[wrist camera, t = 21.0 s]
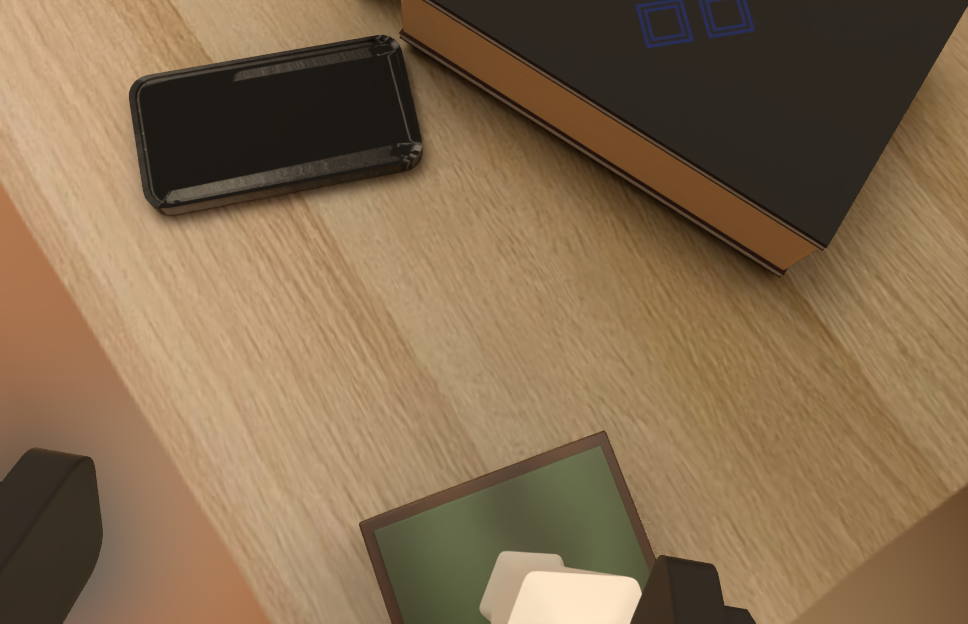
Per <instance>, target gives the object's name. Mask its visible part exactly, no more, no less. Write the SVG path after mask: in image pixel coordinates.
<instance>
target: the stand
mask: <svg viewBox="0 0 968 624" xmlns="http://www.w3.org/2000/svg"><path fill="white" fill-rule="evenodd" d="M359 526H360V529H361V532H362V536H363V539H364V542H365V545H366V548H367V551H368V554H369V557H370V560H371V563H372V566H373V569H374V572H375V575H376V578H377V581H378V584H379V587H380V590H381V593H382V596H383V599H384V602H385V605H386V608H387V611H388V614H389V617H390V620H391V623H392V624H491V622H490V621H489V620H488V619H487V618H485V617H484V616H483V615H482V614H481V612H480V609H479V607H480V603H481V601H482V598H483V595H484V593H485V590H486V587H487V585H488V582H489V580H490V577H491V574H492V572H493V569H494V566H495V564H496V561H497V558H498V556H499V554H500V553H502V552H503V551H513V552H529V553H544V554H556V555H559V556H560V557H561V558H562V560H563V563H564V567H568V568H574V569H581V570H587V571H593V572H600V573H606V574H613V575H619V576H626V577H630V578H633V579H635V580H636V581H637V582H638V584H639V586H640V589H641V593H642V592H643V590H644V588H645V585H646V583H647V580H648V578H649V576H650V573H651V571H652V568H653V566H654V564H655V561H656V558H655V556H654V553H653V551H652V548H651V546H650V543H649V541H648V538H647V535H646V533H645V530H644V528H643V525H642V523H641V520H640V518H639V515H638V513H637V510H636V507H635V505H634V502H633V500H632V497H631V495H630V492H629V490H628V487H627V485H626V482H625V479H624V477H623V474H622V472H621V469H620V467H619V464H618V462H617V459H616V457H615V454H614V451H613V449H612V446H611V444H610V441H609V439H608V436H607V434H606V432H605V431H601V432H599V433H596V434H593V435H590V436H587V437H585V438H582V439H579V440H576V441H574V442H571V443H568V444H565V445H563V446H560V447H557V448H555V449H552V450H549V451H547V452H544V453H542V454H539V455H536V456H534V457H531V458H528V459H526V460H523V461H520V462H518V463H515V464H512V465H510V466H507V467H504V468H502V469H499V470H496V471H494V472H491V473H488V474H486V475H483V476H480V477H478V478H475V479H472V480H470V481H467V482H464V483H462V484H459V485H456V486H454V487H451V488H448V489H446V490H443V491H440V492H438V493H435V494H432V495H430V496H427V497H424V498H422V499H419V500H416V501H414V502H411V503H408V504H406V505H403V506H400V507H398V508H395V509H392V510H390V511H387V512H384V513H382V514H379V515H376V516H374V517H371V518H369V519H367V520H364V521H362V522H360V523H359Z"/></svg>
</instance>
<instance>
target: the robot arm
mask: <svg viewBox="0 0 968 624" xmlns="http://www.w3.org/2000/svg"><path fill="white" fill-rule="evenodd" d="M102 537H103V530H102V520H101V513H100V504H99V496H98V489H97V480H96V471H95V465H94V462H93V460H92V459H91V458H90V457H87V456H82V455H76V454H70V453H64V452H59V451H52V450H47V449H42V448H32V449H30V450H28V451H27V452H26V453H25V454H24V455H23V456H22V457H21V458H20V460H19V461H18V462H17V463H16V465H15V466H14V467H13V468H12V470H11V471H10V472H9V473H8V475H7V476H6V477H5V478H4V480H3V481H2V482H0V624H63V622H64V620H65V619H66V617H67V615H68V613H69V612H70V610H71V608H72V607H73V605H74V603H75V602H76V600H77V598H78V596H79V595H80V593H81V591H82V590H83V588H84V586H85V585H86V583H87V581H88V579H89V578H90V576H91V574H92V572H93V570H94V568H95V565H96V563H97V560H98V557H99V553H100V549H101V544H102ZM630 624H756V623H755V621H754V619H753V618H752V616H751V615H750V613H749V612H748V610H747V609H742V608H736V607H730V606H724V601H723V596H722V591H721V586H720V581H719V576H718V572H717V570H716V568H715V566H714V565H713V564H710V563H704V562H699V561H693V560H687V559H681V558H676V557H670V556H664V555H660V556H659V557H658V558H657V560H656V561H655V564H654V566H653V568H652V571H651V573H650V576H649V578H648V580H647V583H646V585H645V588H644V590H643V592H642V595H641V597H640V600H639V602H638V604H637V607H636V609H635V612H634V614H633V616H632V619H631V622H630Z"/></svg>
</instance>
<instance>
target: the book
mask: <svg viewBox="0 0 968 624" xmlns="http://www.w3.org/2000/svg"><path fill="white" fill-rule="evenodd" d="M967 6H968V0H401V7H402V21H403V29H402V30H401V31H400V32H399V33H400V38H401V39H402V40H404V41H405V42H407V43H409V44H410V45H412V46H413V47H415V48H417V49H418V50H420V51H421V52H423V53H424V54H426V55H428V56H429V57H431V58H432V59H434V60H436V61H437V62H439V63H440V64H442V65H443V66H445V67H447V68H448V69H450V70H451V71H453V72H455V73H456V74H458V75H459V76H461V77H463V78H464V79H466V80H467V81H469V82H470V83H472V84H474V85H475V86H477V87H478V88H480V89H482V90H483V91H485V92H486V93H488V94H489V95H491V96H493V97H494V98H496V99H497V100H499V101H501V102H502V103H504V104H505V105H507V106H508V107H510V108H512V109H513V110H515V111H516V112H518V113H520V114H521V115H523V116H524V117H526V118H527V119H529V120H531V121H532V122H534V123H535V124H537V125H539V126H540V127H542V128H543V129H545V130H546V131H548V132H550V133H551V134H553V135H554V136H556V137H558V138H559V139H561V140H562V141H564V142H565V143H567V144H569V145H570V146H572V147H573V148H575V149H577V150H578V151H580V152H581V153H583V154H585V155H586V156H588V157H589V158H591V159H592V160H594V161H596V162H597V163H599V164H600V165H602V166H604V167H605V168H607V169H608V170H610V171H611V172H613V173H615V174H616V175H618V176H619V177H621V178H623V179H624V180H626V181H627V182H629V183H630V184H632V185H634V186H635V187H637V188H638V189H640V190H642V191H643V192H645V193H646V194H648V195H649V196H651V197H653V198H654V199H656V200H657V201H659V202H661V203H662V204H664V205H665V206H667V207H668V208H670V209H672V210H673V211H675V212H676V213H678V214H680V215H681V216H683V217H684V218H686V219H688V220H689V221H691V222H692V223H694V224H695V225H697V226H699V227H700V228H702V229H703V230H705V231H707V232H708V233H710V234H711V235H713V236H714V237H716V238H718V239H719V240H721V241H722V242H724V243H726V244H727V245H729V246H730V247H732V248H733V249H735V250H737V251H738V252H740V253H741V254H743V255H745V256H746V257H748V258H749V259H751V260H752V261H754V262H756V263H757V264H759V265H760V266H762V267H764V268H765V269H767V270H768V271H770V272H771V273H773V274H775V275H776V276H778V277H779V278H780V276H781V275H784V274H785V272H786V270H787V268H788V267H790V266H791V265H793V264H794V263H796V262H798V261H799V260H801V259H802V258H804V257H805V256H807V255H809V254H810V253H812V252H813V251H815V250H816V249H818V248H819V249H820V250H822V251H823V250H824V248H827V246H828V245H829V243H830V242H831V240H832V238H833V236H834V235H835V233H836V231H837V230H838V228H839V226H840V224H841V223H842V221H843V219H844V218H845V216H846V214H847V212H848V211H849V209H850V207H851V206H852V204H853V202H854V200H855V199H856V197H857V195H858V194H859V192H860V190H861V188H862V187H863V185H864V183H865V181H866V180H867V178H868V176H869V175H870V173H871V171H872V169H873V168H874V166H875V164H876V163H877V161H878V159H879V157H880V156H881V154H882V152H883V151H884V149H885V147H886V145H887V144H888V142H889V140H890V139H891V137H892V135H893V133H894V132H895V130H896V128H897V126H898V125H899V123H900V121H901V120H902V118H903V116H904V114H905V113H906V111H907V109H908V108H909V106H910V104H911V102H912V101H913V99H914V97H915V96H916V94H917V92H918V90H919V89H920V87H921V85H922V84H923V82H924V80H925V78H926V77H927V75H928V73H929V72H930V70H931V68H932V66H933V65H934V63H935V61H936V59H937V58H938V56H939V54H940V53H941V51H942V49H943V47H944V46H945V44H946V42H947V41H948V39H949V37H950V35H951V34H952V32H953V30H954V29H955V27H956V25H957V23H958V22H959V20H960V18H961V17H962V15H963V13H964V11H965V10H966V8H967Z"/></svg>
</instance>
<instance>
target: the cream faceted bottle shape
mask: <svg viewBox="0 0 968 624" xmlns="http://www.w3.org/2000/svg"><path fill="white" fill-rule="evenodd" d="M641 595H642V593H641V589H640V586H639V584H638V582H637V581H636V580H635V579H633V578H630V577H626V576H619V575H613V574H606V573H600V572H593V571H587V570H581V569H574V568H568V567H564V563H563V560H562V558H561V557H560V556H559V555H556V554H544V553H529V552H513V551H503V552H502V553H500V554H499V556H498V558H497V561H496V564H495V566H494V569H493V572H492V574H491V577H490V580H489V582H488V585H487V587H486V590H485V593H484V595H483V598H482V601H481V603H480V607H479V609H480V612H481V614H482V615H483V616H484V617H485V618H487V619H488V620H489V621H490V622H491V624H630V622H631V619H632V616H633V614H634V612H635V609H636V607H637V604H638V602H639V600H640V597H641Z"/></svg>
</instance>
